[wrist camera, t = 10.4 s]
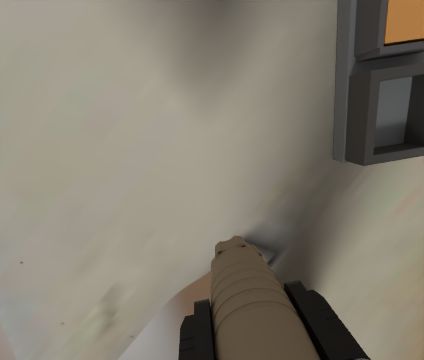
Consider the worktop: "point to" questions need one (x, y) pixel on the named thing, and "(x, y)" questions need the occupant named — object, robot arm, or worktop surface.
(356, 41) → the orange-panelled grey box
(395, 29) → the button
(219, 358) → the handle
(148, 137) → the worktop surface
